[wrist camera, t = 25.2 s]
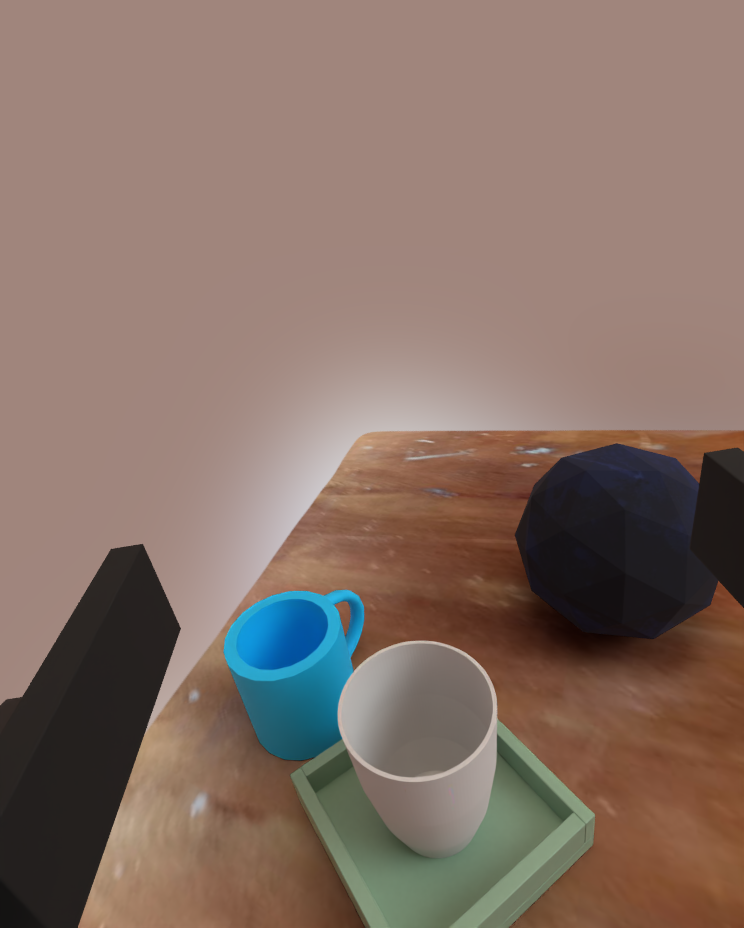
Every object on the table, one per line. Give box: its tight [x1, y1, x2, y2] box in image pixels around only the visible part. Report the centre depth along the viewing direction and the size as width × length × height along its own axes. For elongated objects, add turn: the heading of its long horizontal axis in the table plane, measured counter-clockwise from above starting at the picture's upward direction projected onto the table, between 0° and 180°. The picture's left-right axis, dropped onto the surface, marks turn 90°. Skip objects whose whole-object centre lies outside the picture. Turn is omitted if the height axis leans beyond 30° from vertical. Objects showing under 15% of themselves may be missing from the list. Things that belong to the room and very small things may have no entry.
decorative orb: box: [515, 444, 718, 639], centre depth 42 cm, size 14×15×15 cm
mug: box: [224, 590, 364, 760], centre depth 41 cm, size 12×8×8 cm
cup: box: [338, 641, 497, 858], centre depth 30 cm, size 8×8×10 cm
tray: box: [290, 719, 595, 928], centre depth 32 cm, size 13×13×3 cm
